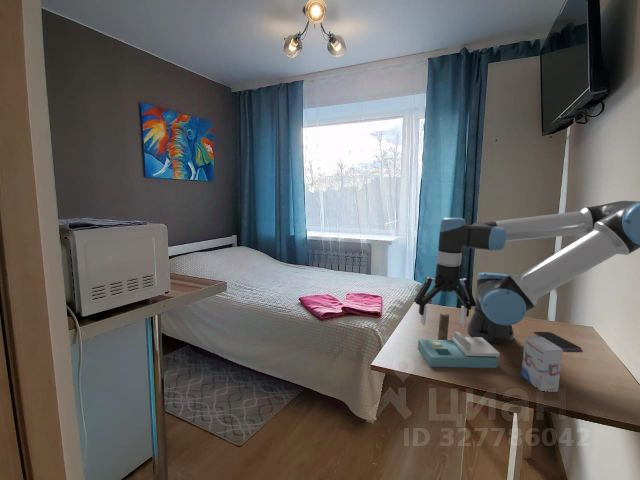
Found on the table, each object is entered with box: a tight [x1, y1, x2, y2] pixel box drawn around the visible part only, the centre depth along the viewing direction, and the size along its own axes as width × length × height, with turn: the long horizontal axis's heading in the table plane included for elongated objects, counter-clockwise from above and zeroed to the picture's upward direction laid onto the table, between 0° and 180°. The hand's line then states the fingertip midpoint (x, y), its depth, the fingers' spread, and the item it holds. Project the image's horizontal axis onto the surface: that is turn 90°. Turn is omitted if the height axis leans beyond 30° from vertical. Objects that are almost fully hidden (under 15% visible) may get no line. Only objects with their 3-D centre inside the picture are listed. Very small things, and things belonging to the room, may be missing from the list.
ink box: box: [520, 336, 564, 393], centre depth 92 cm, size 9×5×12 cm, turn 5°
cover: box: [451, 331, 501, 357], centre depth 106 cm, size 10×11×3 cm
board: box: [417, 339, 499, 369], centre depth 106 cm, size 20×12×3 cm, turn 91°
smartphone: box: [533, 331, 582, 352], centre depth 121 cm, size 7×1×15 cm
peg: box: [437, 312, 450, 340], centre depth 117 cm, size 3×3×10 cm
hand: (442, 324), depth 117 cm, fingers open, 13 cm apart
